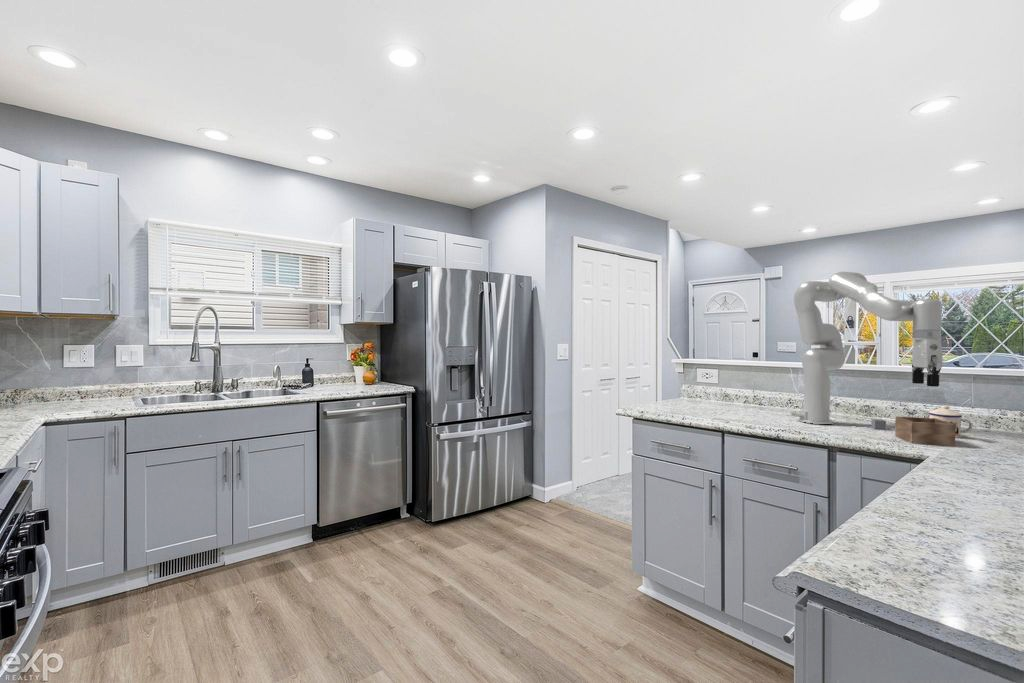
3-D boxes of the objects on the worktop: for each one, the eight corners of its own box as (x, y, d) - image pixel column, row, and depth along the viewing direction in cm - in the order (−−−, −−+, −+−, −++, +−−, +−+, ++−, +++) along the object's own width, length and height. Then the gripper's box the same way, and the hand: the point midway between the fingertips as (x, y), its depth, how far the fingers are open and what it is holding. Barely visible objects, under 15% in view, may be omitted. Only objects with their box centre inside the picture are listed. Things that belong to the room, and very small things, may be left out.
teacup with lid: (930, 438, 175) (931, 406, 175) (925, 433, 183) (926, 403, 183) (975, 442, 169) (976, 409, 169) (968, 437, 177) (969, 406, 177)
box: (911, 445, 163) (912, 422, 163) (895, 438, 174) (895, 416, 174) (954, 448, 159) (955, 424, 159) (935, 440, 171) (935, 418, 171)
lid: (864, 434, 183) (865, 421, 183) (851, 428, 196) (851, 415, 196) (907, 437, 179) (908, 424, 179) (890, 430, 192) (891, 417, 192)
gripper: (954, 335, 157) (953, 388, 157) (926, 335, 173) (925, 382, 174) (926, 335, 159) (925, 387, 159) (901, 335, 176) (900, 382, 176)
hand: (925, 384), depth 167 cm, fingers open, 9 cm apart
